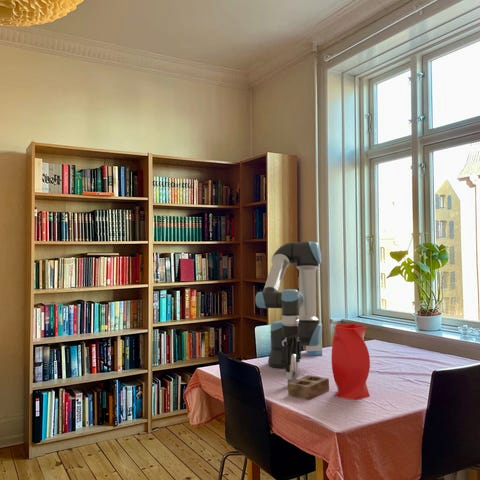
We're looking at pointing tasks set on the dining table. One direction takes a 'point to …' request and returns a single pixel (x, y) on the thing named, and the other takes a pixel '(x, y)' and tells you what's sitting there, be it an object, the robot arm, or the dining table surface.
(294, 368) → the pin
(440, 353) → the dining table surface
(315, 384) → the block
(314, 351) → the ink box
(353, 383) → the vase
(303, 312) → the robot arm
